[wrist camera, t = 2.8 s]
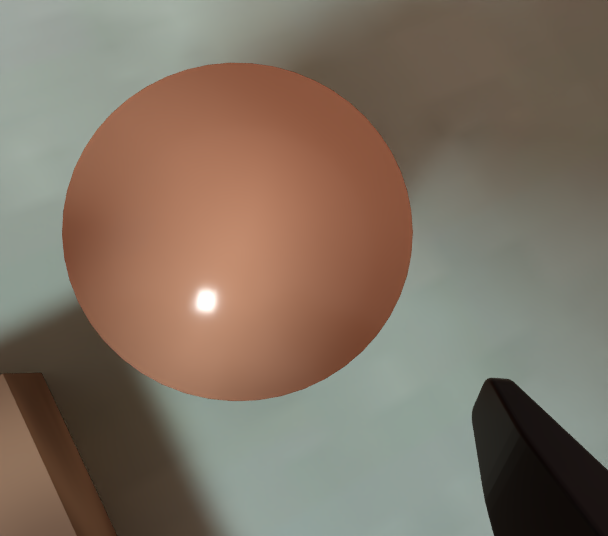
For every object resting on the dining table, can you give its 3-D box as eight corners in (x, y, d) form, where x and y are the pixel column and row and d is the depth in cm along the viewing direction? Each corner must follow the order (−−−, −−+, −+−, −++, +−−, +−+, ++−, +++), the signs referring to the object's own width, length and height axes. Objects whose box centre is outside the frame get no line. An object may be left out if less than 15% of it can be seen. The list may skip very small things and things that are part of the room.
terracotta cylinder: (349, 335, 20) (473, 296, 9) (208, 412, 19) (159, 470, 8) (277, 201, 20) (313, 14, 10) (137, 269, 19) (3, 146, 9)
